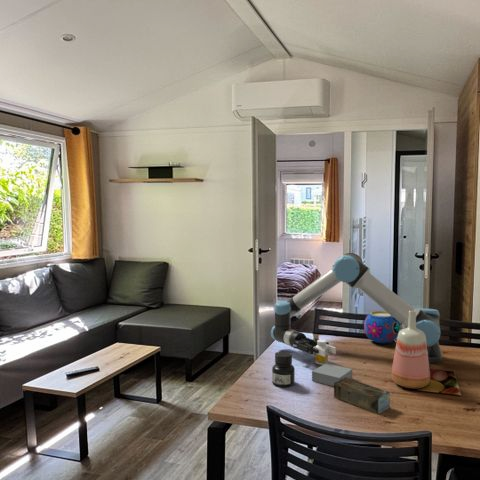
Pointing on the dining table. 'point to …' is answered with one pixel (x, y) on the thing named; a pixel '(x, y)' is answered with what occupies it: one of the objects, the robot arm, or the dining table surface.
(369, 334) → the ceramic pot
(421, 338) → the vase
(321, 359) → the supplement bottle
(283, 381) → the ink bottle
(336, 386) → the beverage carton
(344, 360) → the dining table surface
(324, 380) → the base block
